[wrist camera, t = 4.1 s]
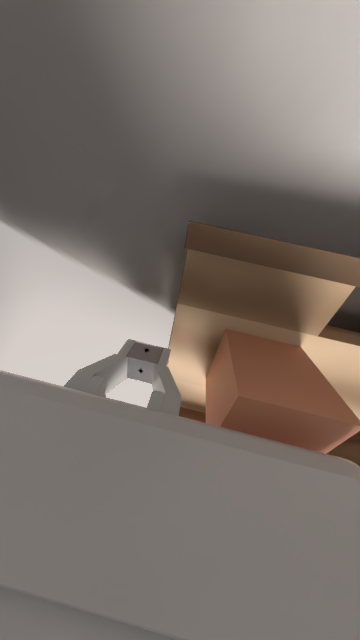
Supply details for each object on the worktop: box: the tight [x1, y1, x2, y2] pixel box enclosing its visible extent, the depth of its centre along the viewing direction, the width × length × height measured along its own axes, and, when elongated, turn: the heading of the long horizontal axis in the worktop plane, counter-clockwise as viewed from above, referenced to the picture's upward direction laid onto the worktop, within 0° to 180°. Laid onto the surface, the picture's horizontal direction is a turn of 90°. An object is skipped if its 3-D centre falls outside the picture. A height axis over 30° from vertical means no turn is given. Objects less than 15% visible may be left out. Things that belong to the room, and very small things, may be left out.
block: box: [206, 329, 360, 454], centre depth 10 cm, size 5×5×5 cm
